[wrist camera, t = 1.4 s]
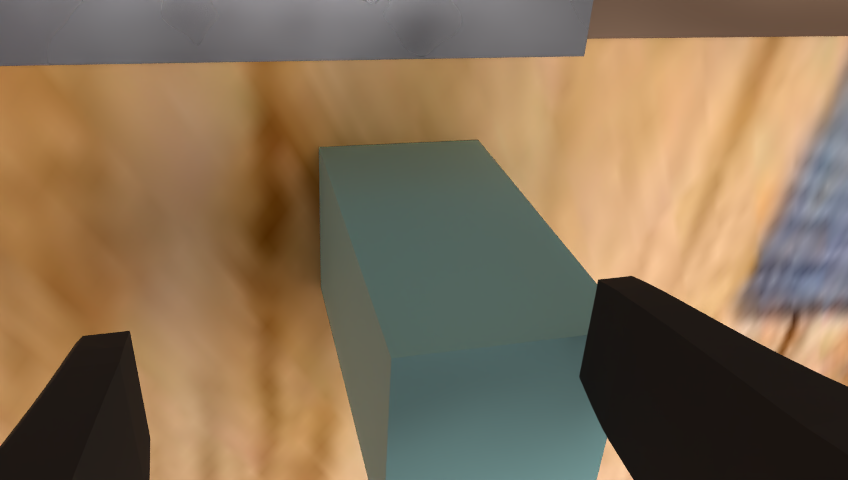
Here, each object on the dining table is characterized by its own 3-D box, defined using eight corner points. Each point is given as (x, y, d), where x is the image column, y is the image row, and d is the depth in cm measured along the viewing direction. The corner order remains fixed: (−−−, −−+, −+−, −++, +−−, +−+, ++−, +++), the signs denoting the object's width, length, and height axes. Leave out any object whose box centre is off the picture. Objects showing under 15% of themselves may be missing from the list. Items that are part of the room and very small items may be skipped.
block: (464, 273, 23) (591, 500, 15) (320, 286, 22) (382, 538, 14) (478, 140, 21) (634, 329, 13) (318, 147, 20) (391, 358, 12)
